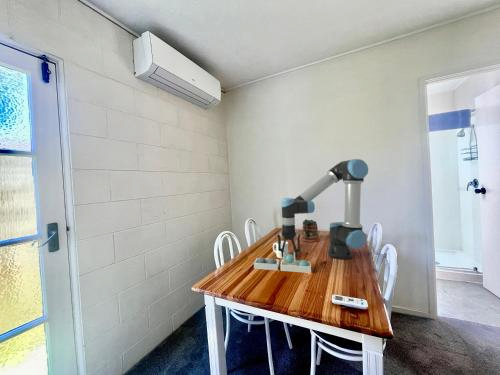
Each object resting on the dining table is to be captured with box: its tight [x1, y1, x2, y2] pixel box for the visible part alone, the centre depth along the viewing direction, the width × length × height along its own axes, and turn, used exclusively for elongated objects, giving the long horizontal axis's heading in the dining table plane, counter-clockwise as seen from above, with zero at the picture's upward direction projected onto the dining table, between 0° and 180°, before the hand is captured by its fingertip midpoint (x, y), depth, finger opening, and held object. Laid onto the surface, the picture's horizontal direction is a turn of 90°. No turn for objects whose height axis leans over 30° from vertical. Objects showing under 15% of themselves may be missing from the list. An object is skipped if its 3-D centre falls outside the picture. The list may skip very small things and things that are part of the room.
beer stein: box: [301, 218, 320, 243], centre depth 177 cm, size 19×15×20 cm
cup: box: [272, 240, 289, 259], centre depth 143 cm, size 8×12×10 cm
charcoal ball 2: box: [267, 257, 276, 264], centre depth 125 cm, size 6×6×6 cm
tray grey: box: [253, 257, 280, 271], centre depth 125 cm, size 14×8×4 cm, turn 75°
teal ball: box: [285, 253, 294, 263], centre depth 122 cm, size 6×6×6 cm
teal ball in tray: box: [299, 259, 308, 266], centre depth 120 cm, size 6×6×6 cm
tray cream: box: [279, 259, 312, 274], centre depth 121 cm, size 17×8×4 cm, turn 75°
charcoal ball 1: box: [257, 256, 266, 263], centre depth 126 cm, size 6×6×6 cm
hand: (289, 262), depth 122 cm, fingers closed on teal ball, 5 cm apart
